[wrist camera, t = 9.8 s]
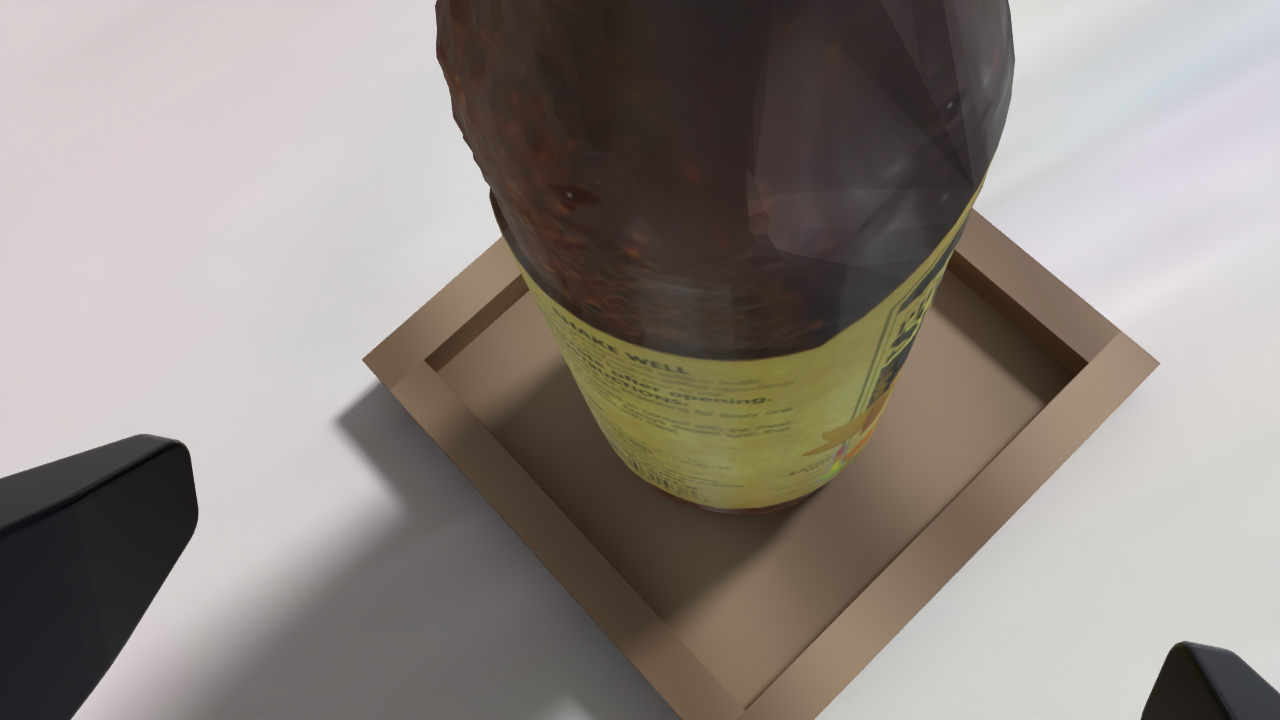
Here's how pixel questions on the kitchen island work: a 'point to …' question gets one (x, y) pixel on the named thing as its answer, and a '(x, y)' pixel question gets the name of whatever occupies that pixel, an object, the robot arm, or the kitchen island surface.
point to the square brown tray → (790, 537)
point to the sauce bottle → (731, 210)
